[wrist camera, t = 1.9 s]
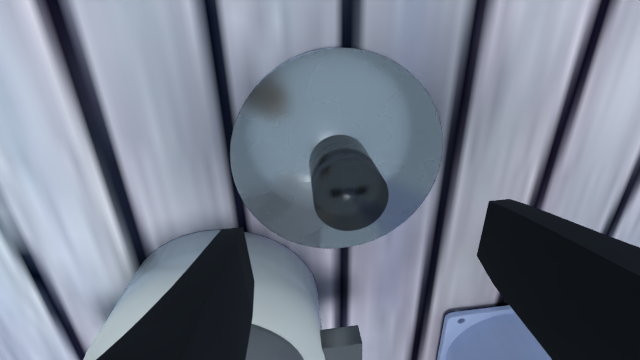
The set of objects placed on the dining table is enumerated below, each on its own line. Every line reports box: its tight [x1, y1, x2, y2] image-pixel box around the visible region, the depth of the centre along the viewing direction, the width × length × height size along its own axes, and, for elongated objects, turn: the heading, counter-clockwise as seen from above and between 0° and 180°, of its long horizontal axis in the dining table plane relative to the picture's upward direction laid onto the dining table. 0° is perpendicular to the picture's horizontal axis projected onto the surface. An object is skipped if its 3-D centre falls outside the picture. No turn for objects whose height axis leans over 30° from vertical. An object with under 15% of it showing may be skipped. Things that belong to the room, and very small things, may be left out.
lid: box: [230, 47, 443, 248], centre depth 13 cm, size 10×10×4 cm
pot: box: [84, 230, 362, 360], centre depth 16 cm, size 15×11×5 cm
